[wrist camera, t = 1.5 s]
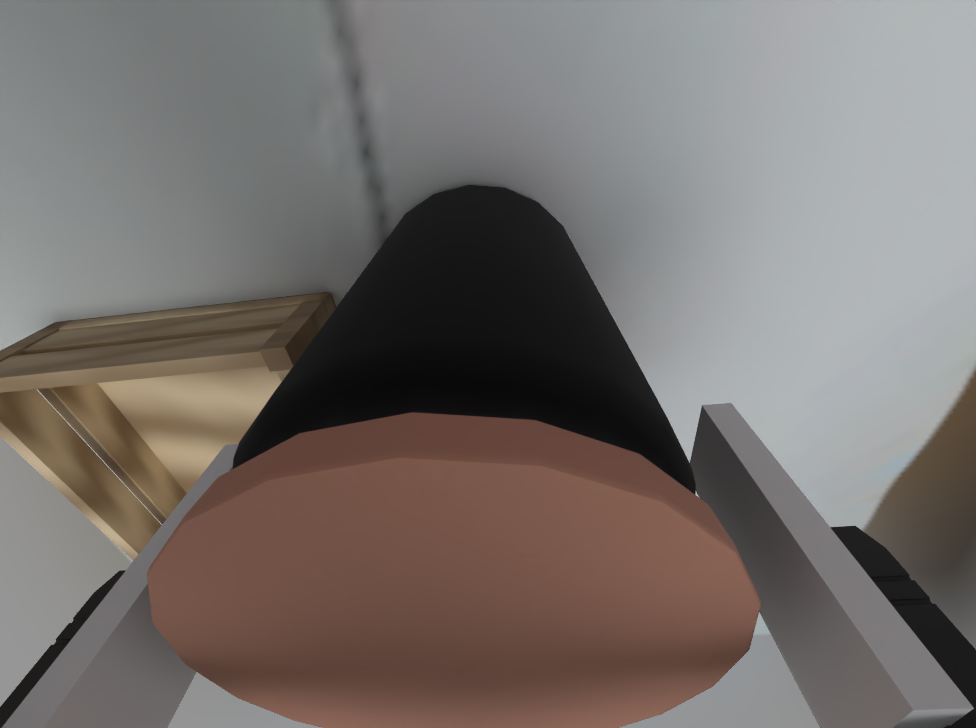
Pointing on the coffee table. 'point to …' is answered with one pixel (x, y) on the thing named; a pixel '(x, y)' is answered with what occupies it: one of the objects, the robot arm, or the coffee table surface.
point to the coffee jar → (460, 506)
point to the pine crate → (147, 400)
